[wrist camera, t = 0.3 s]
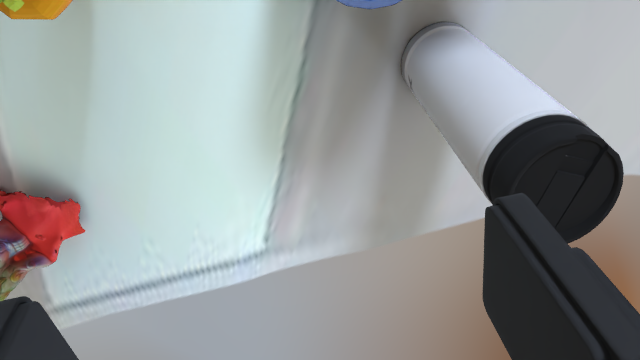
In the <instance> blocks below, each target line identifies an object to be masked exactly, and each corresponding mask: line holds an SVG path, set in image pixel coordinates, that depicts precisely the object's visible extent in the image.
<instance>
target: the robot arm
mask: <svg viewBox="0 0 640 360" xmlns="http://www.w3.org/2000/svg"><path fill="white" fill-rule="evenodd" d="M483 271H484V272H483V302H484V306H485V309H486V312H487V314H488V316H489V318H490V319H491V321H492V323H493V325H494V327H495V329H496V331H497V333H498V334H499V336H500V338H501V340H502V342H503V344H504V346H505V348H506V349H507V351H508V353H509V355H510V357H511V359H512V360H640V314H639V313H638V312H637V311H636V310H635V308H634V307H633V306H632V305H631V304H630V303H629V301H628V300H627V299H626V298H625V297H624V296H623V295H622V293H621V292H620V291H619V290H618V289H617V288H616V286H615V285H614V284H613V283H612V282H611V281H610V280H609V278H608V277H607V276H606V275H605V274H604V273H603V272H602V270H601V269H600V268H599V267H598V266H597V265H596V264H595V262H594V261H593V260H592V259H591V258H590V257H589V255H587V254H586V253H585V252H584V251H583V250H582V249H579V248H577V247H576V248H571V247H570V246H569V245H568V244H567V243H566V241H565V240H564V239H563V238H562V237H561V236H560V234H559V233H558V232H557V231H556V230H555V228H554V227H553V226H552V225H551V224H550V222H549V221H548V220H547V219H546V218H545V217H544V215H543V214H542V213H541V212H540V211H539V209H538V208H537V207H536V206H535V205H534V203H533V202H532V201H531V200H530V199H529V198H528V196H527V195H525V194H524V193H519V194H514V195H509V196H504V197H499V198H496V199H494V201H493V206H490V207H487V208H486V210H485V236H484V269H483ZM0 360H79V359H78V358H77V356H76V355H75V354H74V352H73V351H72V349H71V348H70V346H69V345H68V344H67V342H66V341H65V339H64V338H63V336H62V335H61V333H60V332H59V330H58V329H57V327H56V326H55V325H54V323H53V322H52V320H51V319H50V317H49V316H48V314H47V313H46V312H45V310H44V309H43V307H42V306H41V305H40V303H38V302H36V301H34V302H33V301H32V300H31V299H30V298H28V297H26V296H25V297H18V298H13V299H8V300H3V301H0Z"/></svg>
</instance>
